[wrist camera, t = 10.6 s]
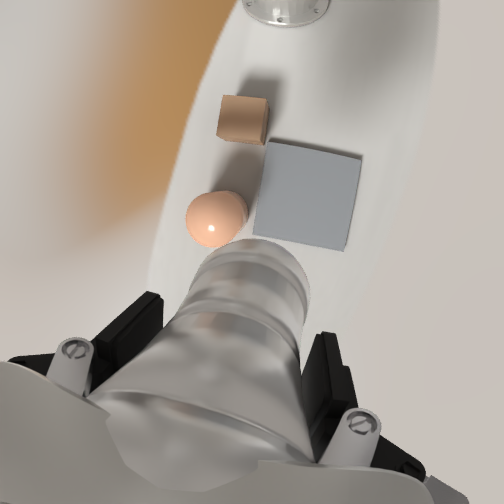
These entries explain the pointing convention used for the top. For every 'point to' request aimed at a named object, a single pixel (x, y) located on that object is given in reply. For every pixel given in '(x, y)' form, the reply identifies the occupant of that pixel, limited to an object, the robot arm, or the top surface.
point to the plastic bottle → (218, 376)
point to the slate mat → (306, 196)
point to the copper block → (243, 119)
